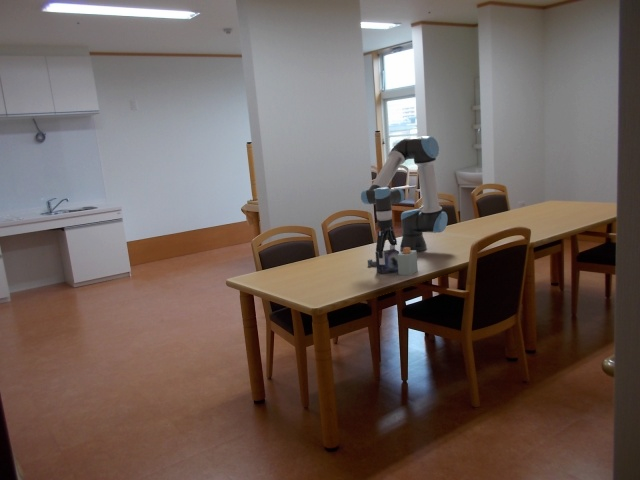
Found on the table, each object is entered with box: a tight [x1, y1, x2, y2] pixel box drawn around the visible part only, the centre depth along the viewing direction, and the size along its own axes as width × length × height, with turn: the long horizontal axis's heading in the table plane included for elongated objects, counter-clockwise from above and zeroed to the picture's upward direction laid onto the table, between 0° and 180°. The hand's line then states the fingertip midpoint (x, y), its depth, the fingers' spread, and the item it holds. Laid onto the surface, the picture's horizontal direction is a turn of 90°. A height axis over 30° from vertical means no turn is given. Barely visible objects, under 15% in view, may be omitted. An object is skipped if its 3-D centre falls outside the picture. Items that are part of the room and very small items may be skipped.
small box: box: [375, 248, 400, 275], centre depth 272 cm, size 11×6×10 cm, turn 105°
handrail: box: [367, 258, 376, 267], centre depth 283 cm, size 2×23×3 cm, turn 59°
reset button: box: [402, 247, 411, 254], centre depth 265 cm, size 4×4×5 cm
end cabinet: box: [397, 250, 419, 276], centre depth 266 cm, size 10×6×10 cm, turn 149°
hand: (387, 261), depth 272 cm, fingers open, 13 cm apart
